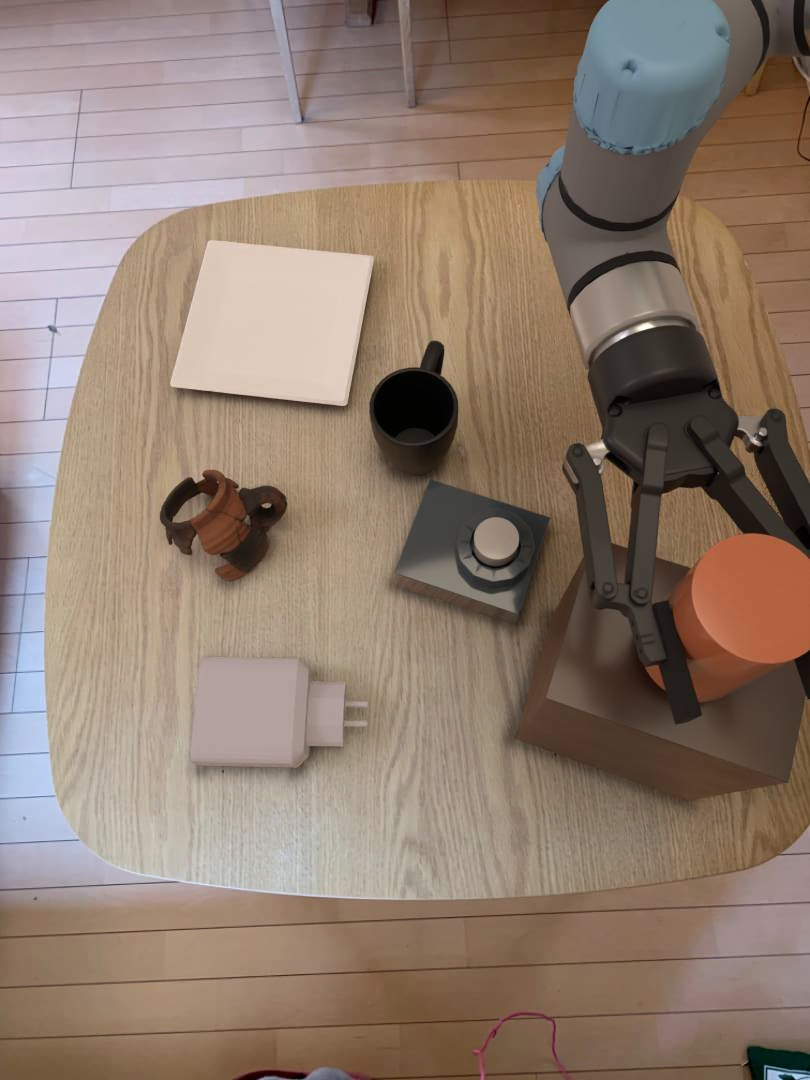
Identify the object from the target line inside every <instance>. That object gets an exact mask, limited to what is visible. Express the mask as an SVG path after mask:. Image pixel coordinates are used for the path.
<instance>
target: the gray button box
mask: <svg viewBox="0 0 810 1080" xmlns="http://www.w3.org/2000/svg"><path fill="white" fill-rule="evenodd" d="M494 517H498V518H503V519H506V520H508V521H510V522H511V523H512V524H513V525H514V526H515V527H516V529H517V531H518V534H519V544H518V548H517V551H516V554H515V556H514V558H513V559H512V560H511V561H510V562H509V563H507V564H505V565H503V566H497V567H494V566H489V565H486V564H484V563H482V562H481V561H480V560H479V559H478V558H477V557H476V555H475V553H474V550H473V540H474V533H475V530H476V528H477V527H478V525H479V524H480V523H481V522H483V521H484V520H486V519H489V518H494ZM550 521H551V517H550V516H547V515H545V514H541V513H538V512H535V511H532V510H528V509H525V508H522V507H519V506H517V505H513V504H509V503H506V502H504V501H501V500H497V499H494V498H490V497H489V496H484V495H483V494H482V495H481V494H478V493H475V492H471V491H469V490H466V489H463V488H460V487H456V486H453V485H450V484H447V483H443V482H440V481H437V480H435V479H431V478H430V479H429V480H428V483H427V485H426V487H425V491H424V493H423V496H422V498H421V501H420V504H419V506H418V510H417V512H416V515H415V516H414V520H413V522H412V524H411V528H410V530H409V533H408V536H407V538H406V540H405V544H404V546H403V548H402V551H401V554H400V556H399V558H398V562H397V564H396V567H395V570H394V572H393V574H394V581H395V586H396V587H400V588H403V589H405V590H407V591H411V592H413V593H418V594H420V595H422V596H426V597H429V598H432V599H435V600H437V601H441V602H443V603H447V604H449V605H452V606H456V607H459V608H462V609H464V610H467V611H470V612H474V613H476V614H480V615H482V616H486V617H488V618H491V619H495V620H497V621H501V622H503V623H506V624H509V625H512V626H516V624H517V621H518V619H519V617H520V614H521V610H522V608H523V604H524V601H525V599H526V596H527V592H528V589H529V586H530V583H531V581H532V576H533V573H534V571H535V568H536V565H537V561H538V558H539V555H540V552H541V549H542V545H543V544H544V540H545V537H546V534H547V530H548V527H549V524H550Z"/></svg>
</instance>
